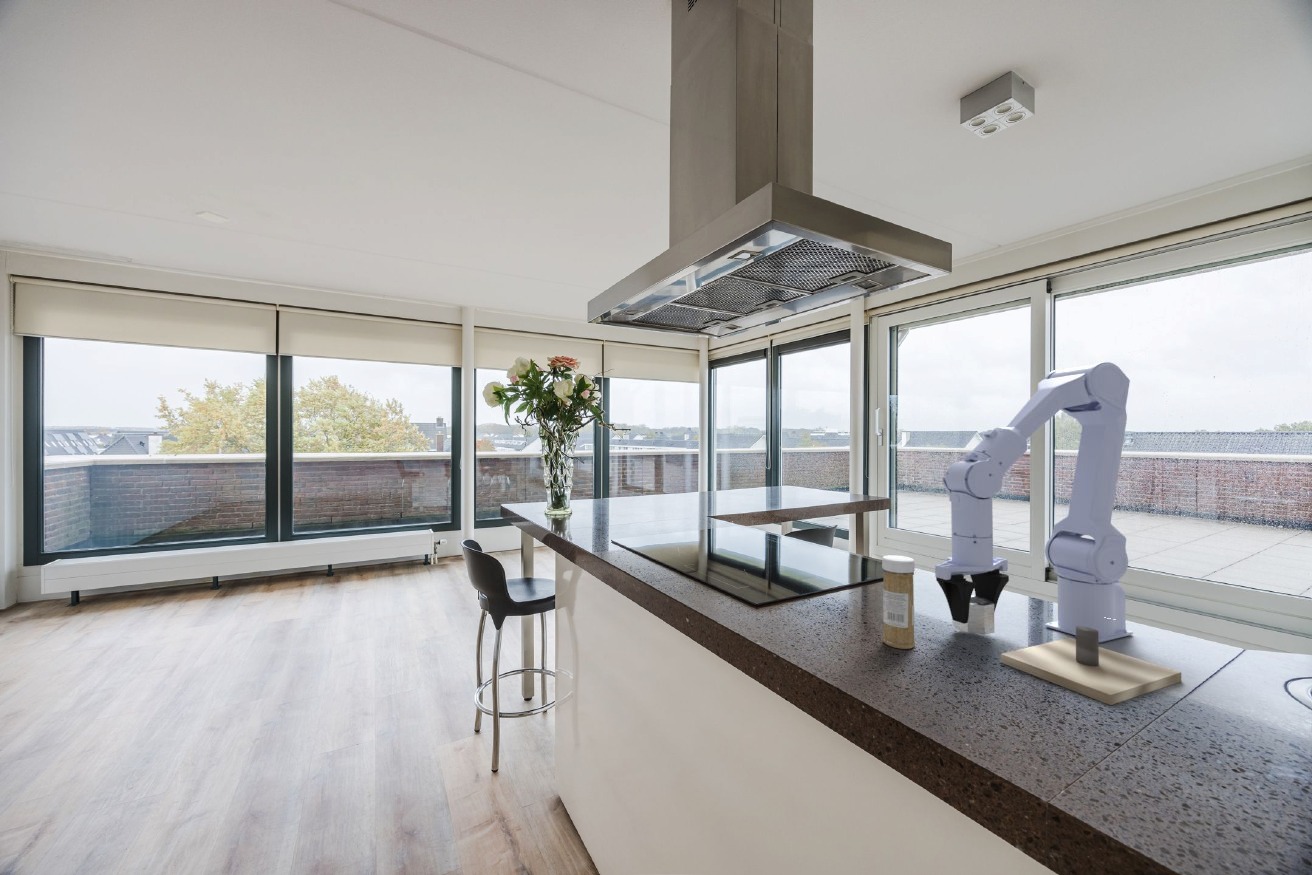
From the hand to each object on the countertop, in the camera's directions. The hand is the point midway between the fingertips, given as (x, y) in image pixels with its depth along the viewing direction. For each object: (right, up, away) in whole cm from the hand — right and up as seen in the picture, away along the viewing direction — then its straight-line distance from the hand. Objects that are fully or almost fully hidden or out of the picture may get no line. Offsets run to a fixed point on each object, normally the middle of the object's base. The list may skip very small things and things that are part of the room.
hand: (972, 618), depth 83 cm
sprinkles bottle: (-14, -3, -4) cm, 15 cm away
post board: (+8, -3, -13) cm, 15 cm away
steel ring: (0, -1, 0) cm, 1 cm away
